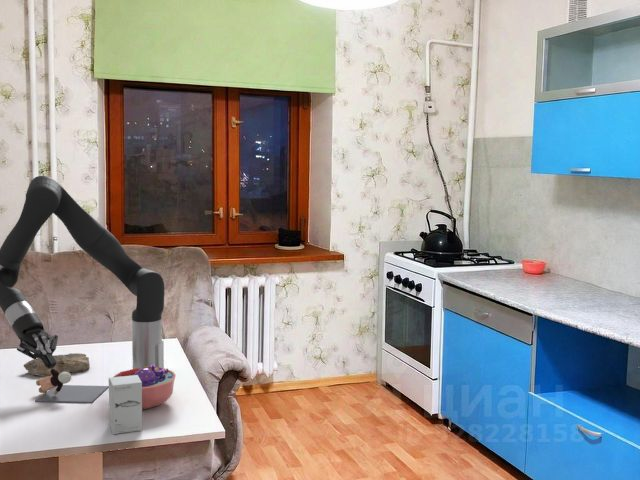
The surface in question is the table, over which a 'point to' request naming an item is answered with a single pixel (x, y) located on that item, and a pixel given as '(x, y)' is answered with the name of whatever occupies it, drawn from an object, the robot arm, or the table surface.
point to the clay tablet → (59, 364)
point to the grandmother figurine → (53, 381)
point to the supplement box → (125, 404)
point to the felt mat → (73, 394)
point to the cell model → (153, 384)
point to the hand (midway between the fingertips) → (52, 366)
